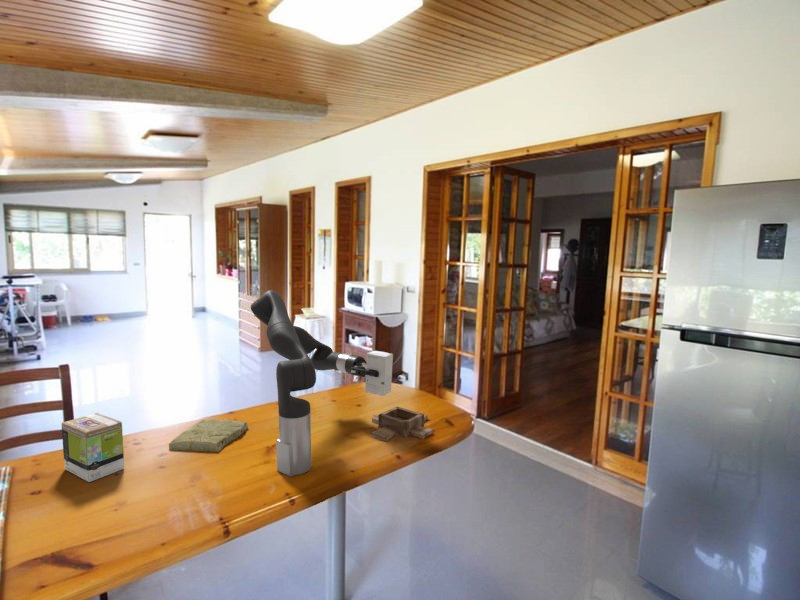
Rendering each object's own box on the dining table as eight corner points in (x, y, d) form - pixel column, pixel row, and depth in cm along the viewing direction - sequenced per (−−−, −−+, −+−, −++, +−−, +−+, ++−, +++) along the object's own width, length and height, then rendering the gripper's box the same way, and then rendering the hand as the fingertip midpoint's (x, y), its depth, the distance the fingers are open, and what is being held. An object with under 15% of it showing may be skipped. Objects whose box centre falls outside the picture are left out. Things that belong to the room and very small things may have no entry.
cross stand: (405, 448, 142) (405, 434, 142) (353, 430, 157) (353, 417, 156) (447, 424, 163) (447, 412, 162) (397, 410, 177) (397, 398, 177)
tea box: (126, 468, 128) (123, 421, 127) (88, 483, 120) (84, 433, 118) (100, 456, 136) (97, 411, 134) (63, 469, 127) (59, 421, 126)
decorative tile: (168, 450, 141) (167, 440, 140) (202, 426, 161) (201, 417, 160) (222, 454, 139) (221, 443, 138) (250, 428, 159) (249, 419, 158)
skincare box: (364, 392, 157) (365, 353, 155) (373, 388, 162) (373, 349, 160) (385, 396, 153) (385, 356, 151) (392, 391, 158) (393, 352, 156)
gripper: (337, 358, 159) (371, 366, 149) (363, 351, 170) (396, 358, 161) (337, 377, 160) (371, 387, 150) (363, 369, 171) (396, 377, 161)
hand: (384, 372), depth 155 cm, fingers closed on skincare box, 6 cm apart
